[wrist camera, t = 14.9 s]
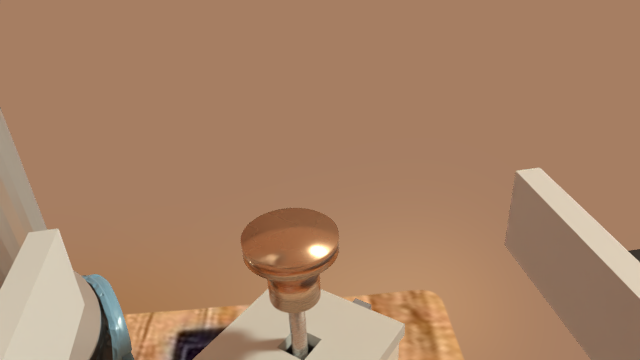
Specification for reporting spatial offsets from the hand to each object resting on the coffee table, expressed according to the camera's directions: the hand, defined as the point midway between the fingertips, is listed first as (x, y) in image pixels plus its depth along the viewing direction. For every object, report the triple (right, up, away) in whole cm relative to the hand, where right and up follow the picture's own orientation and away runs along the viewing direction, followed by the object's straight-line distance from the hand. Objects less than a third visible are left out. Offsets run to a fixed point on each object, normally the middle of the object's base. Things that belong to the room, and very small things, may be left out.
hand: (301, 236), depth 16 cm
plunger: (0, -22, +32) cm, 38 cm away
